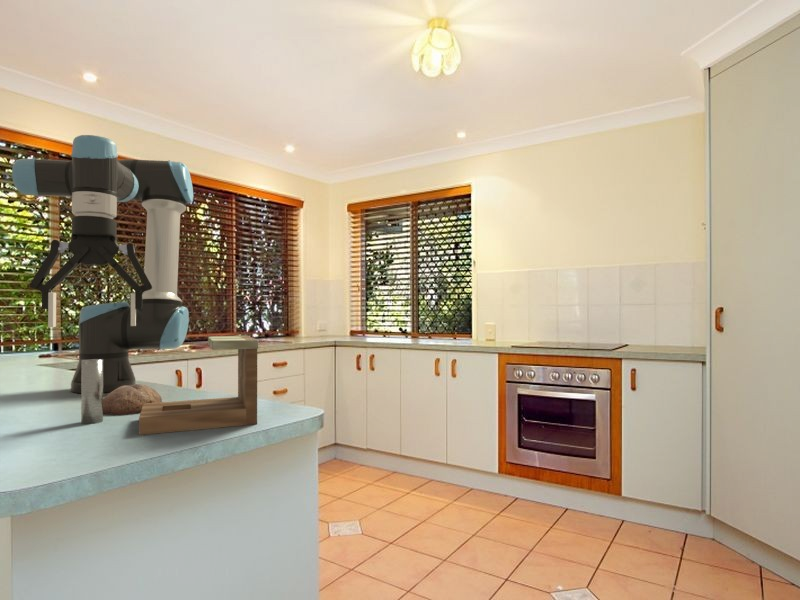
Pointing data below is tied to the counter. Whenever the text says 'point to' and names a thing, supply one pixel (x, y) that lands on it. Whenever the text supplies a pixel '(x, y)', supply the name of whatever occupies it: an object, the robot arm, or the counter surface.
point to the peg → (92, 391)
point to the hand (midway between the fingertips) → (93, 326)
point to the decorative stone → (129, 399)
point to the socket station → (210, 410)
